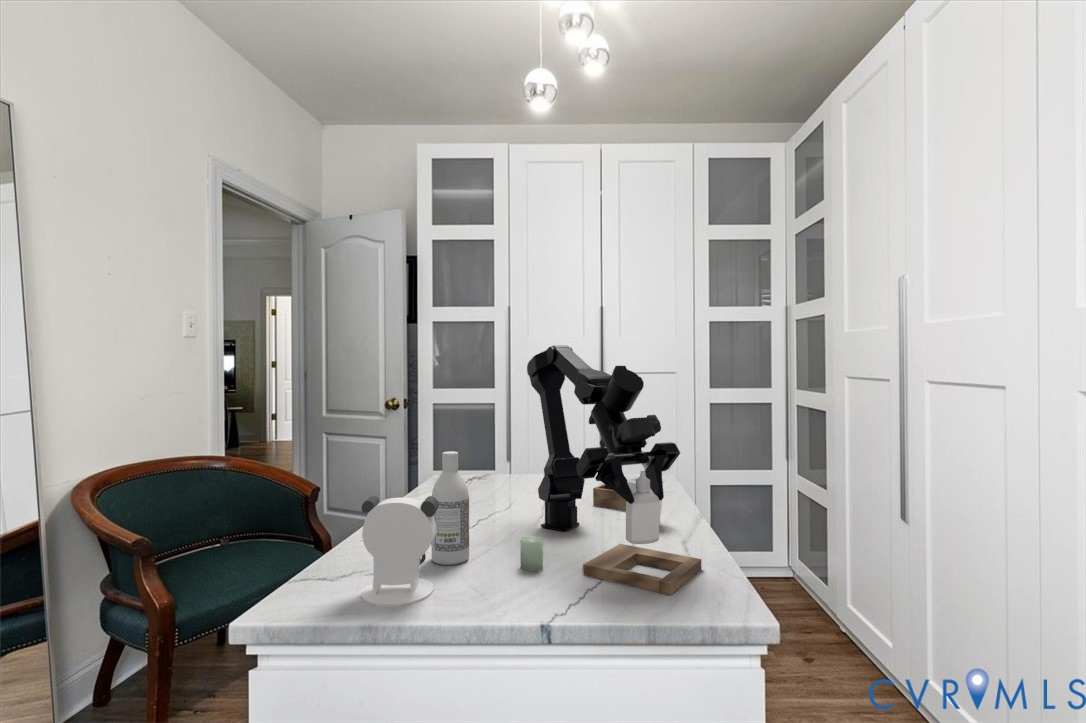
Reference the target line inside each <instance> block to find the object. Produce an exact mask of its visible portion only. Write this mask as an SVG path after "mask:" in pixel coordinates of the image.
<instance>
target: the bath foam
mask: <svg viewBox="0 0 1086 723" xmlns="http://www.w3.org/2000/svg"><path fill="white" fill-rule="evenodd" d="M441 457H442V458H441V460H442V462H441V463H442V467H441V468H442V472H441V474H440V475H439V476H438V478H437V480H436V482H435V483H434V485H433V488H432V492H431V496H433V497H435V498H436V499H437V501H438V503H439V507H438V509H437V511H436V512H435V514H434V515H433V517H434V519H435V522H436V535H435V537H434V539H433V541H432V543H431V545H430V546H431V560H432V562H434V563H435V564H438V565H442V566H453V565H455V566H456V565H460V564H463V563H465V562H466V561H467V560H469V559H470V494H469V492H470V491H469V488H468V485H467V483H466V481H465V479H464V478H463V477H462V475H461V473H460V471H459V452H458V451H452V450H451V451H443V452H442V456H441Z"/></svg>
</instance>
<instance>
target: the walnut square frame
mask: <svg viewBox="0 0 1086 723" xmlns="http://www.w3.org/2000/svg"><path fill="white" fill-rule="evenodd" d="M636 564H639V565H643V566H648V567H652V568H659V569H663V570H668V571H670V572H669V573H667V575H664V576H663V577H659V576H655V575H649V574H646V573H645V574H644V573H640V572H635V571H631V570H628V569H630V568H631V567H632V566H635V565H636ZM701 570H702V558H697V557H692V556H687V555H681V554H676V553H672V552H671V553H670V552H668V551H667V552H666V551H661V550H655V549H649V548H644V547H640V546H633V545H630V544H629V545H628V544H624V543H619V544H617V545H615V546H613V547H612V548H610V549H608V550H606V551H605V552H602V553H601V554H599V555H597V556H595V557H594V558H592V559H590V560H588V561H586V562H584V563H583V564H582V575H583V576H587V577H590V578H596V579H599V580H605V581H608V582H613V583H617V584H621V585H626V586H630V587H635V588H638V589H643V590H648V591H652V592H656V593H660V594H665V595H668V596H672V595H673V594H674V593H675V592H676V591H677V590H679V589H680V588H681V587H682V586H683V585H685V584H686V583H687V582H689V580H690V579H692V578H693V577H694V576H695V575H697V574H698V573H699V572H701Z"/></svg>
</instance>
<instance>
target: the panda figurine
mask: <svg viewBox="0 0 1086 723" xmlns="http://www.w3.org/2000/svg"><path fill="white" fill-rule="evenodd" d="M361 504H362V505H361V512H362V513H364V514H367V515H366V516H365V519H364V522H363V527H362V532H361V536H362V538H361V539H362V541H363V545H364V547H365V549H366V551H367V552H368V553H369V554H370V555H371V556H372V557H373V580H372V583H370V584H368V585H366V586H365V587H364V588H362V590H361V591H360V599H361V601H363V602H364V603H366V604H368V605H371V606H377V607H384V608H385V607H386V608H388V607H389V608H393V607H402V606H408V605H413V604H417V603H419V602H421V601H425V599H427V598H429V597H431V596H432V595H433V593H434V590H435V589H434V584H433V583H432V582H431V581H429V580H427V579H423V578H421V577H420V570H421V568H420V567H421V565H422V564H423V563H425V561H426V557H427V556H426V552H427V551H428V550H429V548H430V546H431V543H432V541H433V539H434V537H435V535H436V522H435V519H434V517H433V515H434V514H435V512H436V511H437V509H438V507H439V503H438V501H437V499H436V498H435V497H433V496H432V495H430V496H427V497H426V498H425V499H424V501H423V502H422V501H420V500H418V499H415V498H411V497H391V498H386V499H384V500H382V501H380V498H379V497H378V496H375V495H373V496H369V497H368V498H367V499H366V500H365V501H364V502H363V503H361Z"/></svg>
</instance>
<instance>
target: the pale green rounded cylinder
mask: <svg viewBox="0 0 1086 723" xmlns="http://www.w3.org/2000/svg"><path fill="white" fill-rule="evenodd" d="M543 541H544V540H543V538H542V537H538V536H524V537H522V538H520V546H519V547H520V550H519V552H520V556H519V558H520V563H519V565H520V569H521V571H523V572H528V573H529V572H530V573H531V572H534V573H535V572H540V571H542V570H543V568H544V563H543V562H544V557H543V556H544V554H543V553H544V552H543V550H544V548H543V546H544V542H543Z"/></svg>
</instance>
